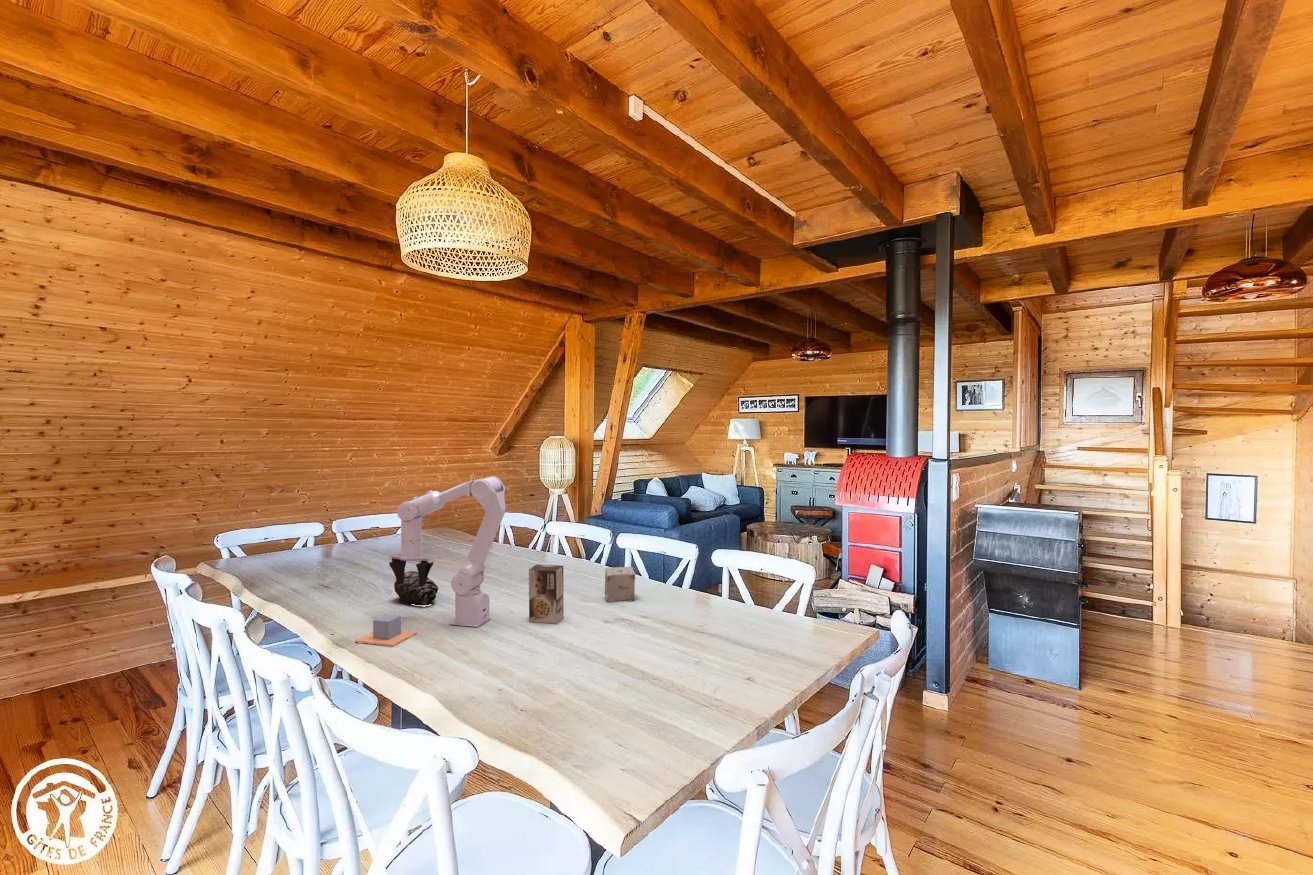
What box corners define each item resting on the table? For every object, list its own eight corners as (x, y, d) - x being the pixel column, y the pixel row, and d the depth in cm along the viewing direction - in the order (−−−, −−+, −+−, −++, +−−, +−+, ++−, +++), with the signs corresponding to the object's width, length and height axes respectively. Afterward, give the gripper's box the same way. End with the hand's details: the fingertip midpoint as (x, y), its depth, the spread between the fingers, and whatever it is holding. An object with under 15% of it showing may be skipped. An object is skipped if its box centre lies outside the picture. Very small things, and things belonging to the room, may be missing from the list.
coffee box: (564, 617, 180) (564, 565, 180) (556, 624, 174) (556, 570, 174) (536, 615, 182) (536, 563, 182) (528, 622, 176) (528, 568, 176)
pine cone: (425, 610, 187) (425, 579, 187) (387, 602, 195) (387, 572, 195) (450, 601, 196) (450, 571, 196) (413, 594, 204) (413, 565, 204)
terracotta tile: (417, 634, 165) (417, 631, 165) (393, 647, 155) (393, 644, 155) (380, 630, 168) (380, 628, 168) (354, 642, 158) (354, 640, 158)
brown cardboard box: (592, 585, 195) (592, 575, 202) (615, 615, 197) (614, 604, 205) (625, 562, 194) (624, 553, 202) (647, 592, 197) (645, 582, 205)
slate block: (401, 633, 164) (401, 615, 164) (388, 639, 159) (388, 621, 159) (385, 631, 165) (385, 614, 165) (373, 638, 160) (373, 620, 160)
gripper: (381, 541, 176) (381, 586, 176) (424, 544, 172) (424, 589, 172) (397, 537, 182) (397, 580, 183) (438, 539, 179) (438, 583, 179)
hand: (411, 584), depth 178 cm, fingers open, 7 cm apart
